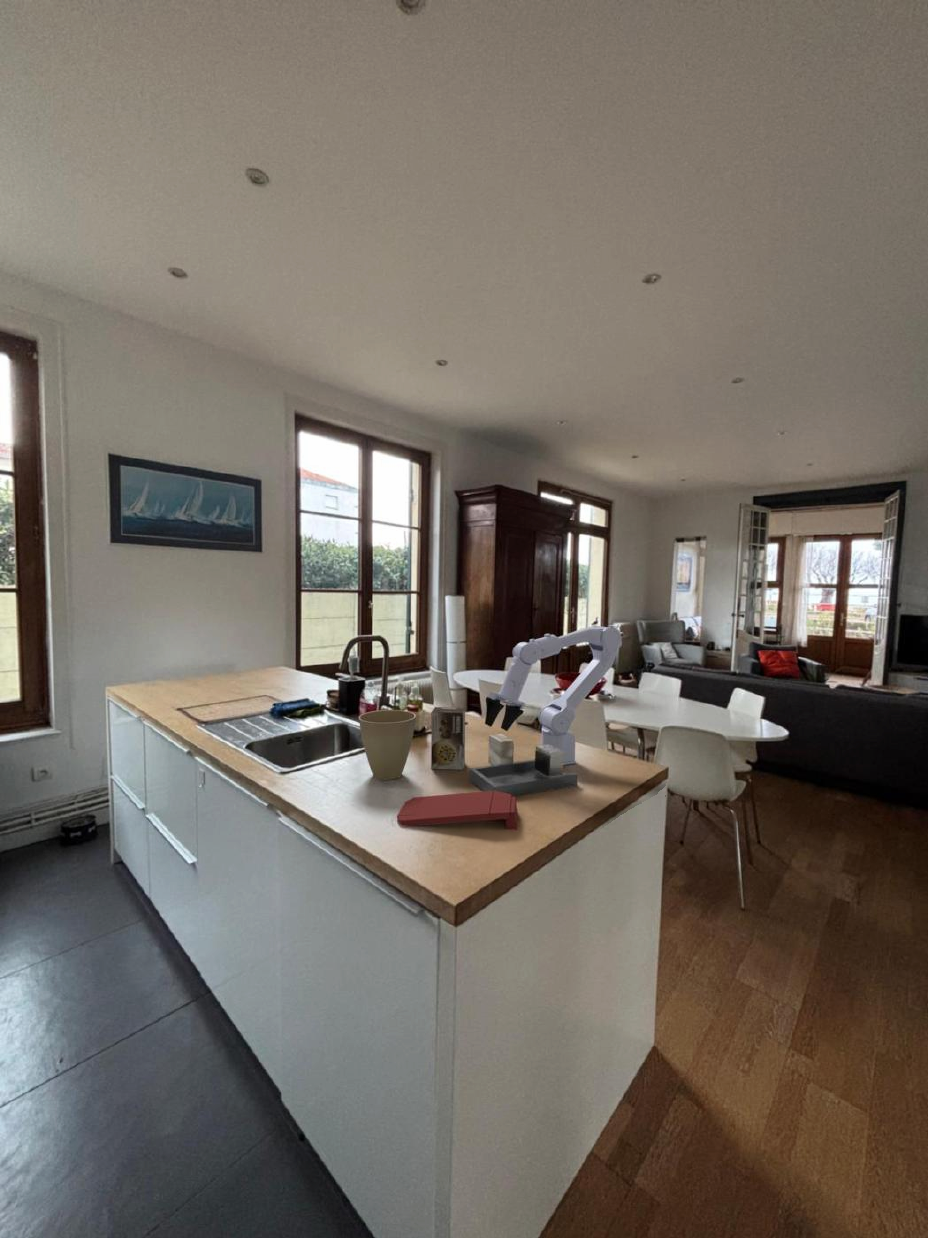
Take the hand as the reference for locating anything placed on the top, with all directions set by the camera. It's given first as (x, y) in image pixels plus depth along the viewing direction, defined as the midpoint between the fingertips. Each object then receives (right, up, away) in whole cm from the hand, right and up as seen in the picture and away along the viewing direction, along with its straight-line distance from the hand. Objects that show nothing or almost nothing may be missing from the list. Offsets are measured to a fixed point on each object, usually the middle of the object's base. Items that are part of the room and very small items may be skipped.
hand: (496, 727), depth 141 cm
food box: (-14, -11, 0) cm, 18 cm away
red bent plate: (-10, -13, -32) cm, 36 cm away
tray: (+6, -12, -12) cm, 18 cm away
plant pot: (-30, -11, -8) cm, 33 cm away
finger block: (+1, -11, +2) cm, 11 cm away
